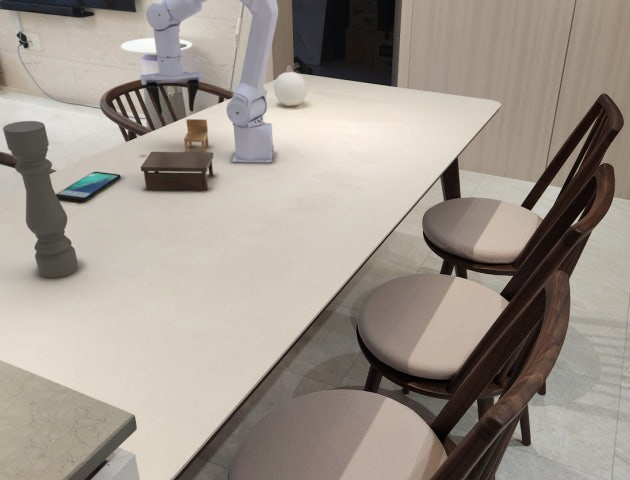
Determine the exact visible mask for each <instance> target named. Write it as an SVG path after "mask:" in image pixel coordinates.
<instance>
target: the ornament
mask: <svg viewBox="0 0 630 480" xmlns="http://www.w3.org/2000/svg"><path fill="white" fill-rule="evenodd" d="M285 70H286V71H285V72H283V73H280V74H279V75H278V76H277V77H276V79H275V81H274V85H273V91H274V92H273V93H274V96H275V98H276V99H277V101H278V102H279V103H280V104H282V105H284V106H287V107H295V106H298V105H300V104H302V103H303V102H304V101H305V99H306V97H307V93H308V86H307V82H306V80H305V78H304V77H303V76H302V75H301V74H299V73H297V72H295V71H293V68H292V65H287V66H286V69H285Z"/></svg>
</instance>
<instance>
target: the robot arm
mask: <svg viewBox="0 0 630 480" xmlns="http://www.w3.org/2000/svg"><path fill="white" fill-rule="evenodd" d="M207 1H208V0H162V1H161V2H152V3H151V4H150V5H149V6H148V7H147V8H146V10H145V11H146V12H145V17H146V20H147V22H148V24H149V26H150V27H151V28H153V29H152V30H153V37H154V46H155V52H156V53H155V54H156V59H157V67H158V72H154V73H147V74H140V82H141V85H142V86H144V85H146V87H147V89H148V91H149V93H150V94H151V96H152V98H153V100H154V102H155V104H156V107H157V112H158V114H159V115H161V114H163V110H162V104H161V100H160V91H159V85H158V84H168V83H171V84H172V83H186V88H187V94H188V107H189V108H188V109H189V111H190V112H194V107H195V101H196V97H197V96H196V95H197V93H198V90H199V88H200V83H203V82H204V79H203V73H202V71H184V67H183V59H182V49H181V42H180V41H181V40H180V33H181V32H180V26H181V24H182V22H183V21H185V20H187V19H189V18H190V17H192V16H194V15H196V14H198V13H199V12H201V11H202V9H203V3H205V2H207ZM239 2H241V3H242V4H243V5H244V6H245V7H246V8H247V9H248V11H249V12H250V14H251V22H250V27H249V28H250V29H249V32H248V38H247V43H246V49H245V53H244V58H243V59H244V60H243V65H242V70H241V75H240V80H239V83H238V85H237V86H236V88H235V89H234V91H233V93H232V97H231V100H229V102H228V103H227V105H226V115H227V117H228V119H229V121H230V122H231V123H232V126H233V138H234V150H235V152H234V155H233V158H232V163H261V164H263V163H264V164H265V163H268V164H269V163H272V162H273V156H274V153H275V148H274V147H275V145H274V144H273V143H274V140H273V139H274V138H273V125H272V122H271V123H270V122H265V121H264V116H265V114H266V113H267V110H268V102H267V93H268V91H267V89H266V88H265V87H264V84H265V78H266V74H267V69H268V65H269V60H270V55H271V50H272V46H273V40H274V37H275V36H274V35H275V31H276V27H277V22H278V17H279V5H278V1H277V0H239Z"/></svg>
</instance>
